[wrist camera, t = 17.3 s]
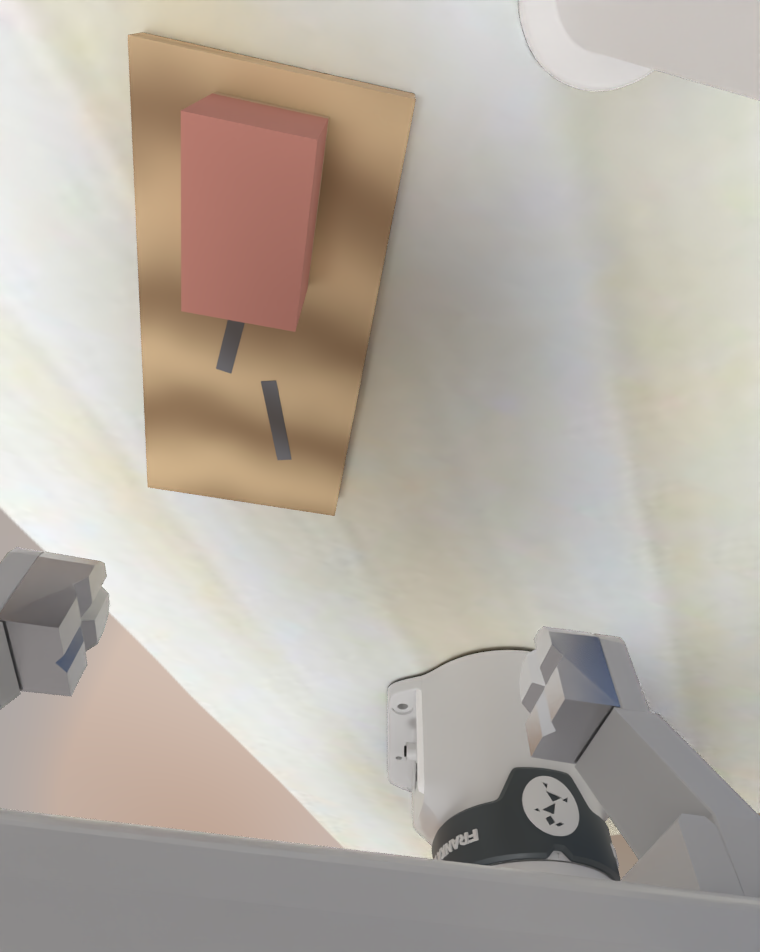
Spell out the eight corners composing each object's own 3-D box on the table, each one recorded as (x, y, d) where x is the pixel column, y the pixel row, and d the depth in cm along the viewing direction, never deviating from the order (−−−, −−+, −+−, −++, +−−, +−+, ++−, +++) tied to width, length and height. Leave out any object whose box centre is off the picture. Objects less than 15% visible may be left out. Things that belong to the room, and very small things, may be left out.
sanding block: (308, 285, 29) (295, 331, 25) (210, 267, 29) (181, 311, 25) (329, 116, 25) (317, 140, 21) (214, 91, 24) (180, 110, 21)
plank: (336, 496, 39) (334, 516, 38) (156, 468, 38) (147, 487, 37) (414, 93, 26) (415, 99, 25) (142, 32, 25) (127, 35, 23)
